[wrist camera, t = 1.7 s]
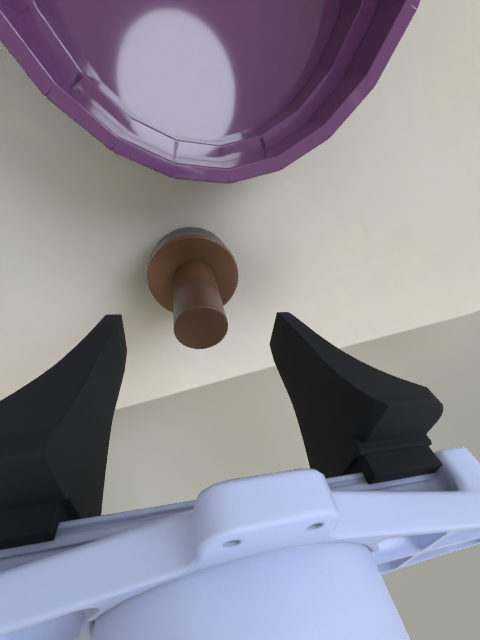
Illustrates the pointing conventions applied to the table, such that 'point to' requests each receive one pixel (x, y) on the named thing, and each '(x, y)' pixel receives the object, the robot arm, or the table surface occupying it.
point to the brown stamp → (194, 284)
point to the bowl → (206, 74)
